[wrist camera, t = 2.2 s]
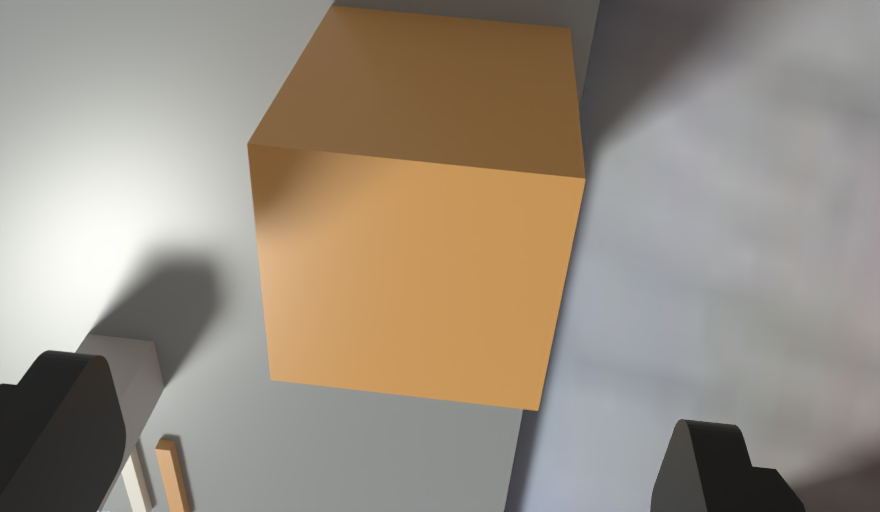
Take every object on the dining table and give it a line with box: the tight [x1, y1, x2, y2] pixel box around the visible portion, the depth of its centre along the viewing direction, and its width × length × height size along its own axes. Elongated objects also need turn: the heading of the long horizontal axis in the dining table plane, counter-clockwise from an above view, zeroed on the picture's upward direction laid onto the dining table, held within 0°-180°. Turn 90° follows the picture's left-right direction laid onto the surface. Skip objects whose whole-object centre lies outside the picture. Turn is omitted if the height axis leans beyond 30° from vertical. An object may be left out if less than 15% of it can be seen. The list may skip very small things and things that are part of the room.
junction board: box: [0, 0, 600, 512], centre depth 20 cm, size 22×18×6 cm
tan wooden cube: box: [247, 5, 586, 411], centre depth 15 cm, size 5×5×6 cm
